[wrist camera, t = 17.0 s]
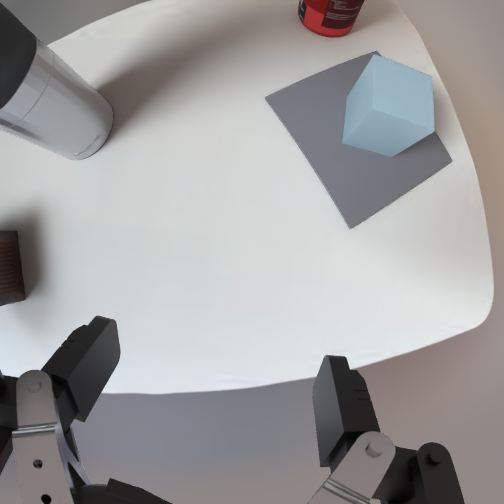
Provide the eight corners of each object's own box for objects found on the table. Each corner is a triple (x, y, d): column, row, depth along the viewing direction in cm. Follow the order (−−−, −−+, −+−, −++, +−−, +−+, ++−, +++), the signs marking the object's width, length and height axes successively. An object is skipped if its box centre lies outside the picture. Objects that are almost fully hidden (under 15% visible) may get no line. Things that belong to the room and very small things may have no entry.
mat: (265, 99, 32) (265, 97, 32) (375, 52, 32) (376, 50, 31) (349, 228, 33) (350, 228, 32) (450, 161, 32) (452, 161, 31)
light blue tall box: (391, 157, 32) (434, 131, 22) (342, 143, 32) (372, 109, 22) (393, 111, 31) (431, 76, 21) (346, 97, 31) (373, 54, 21)
